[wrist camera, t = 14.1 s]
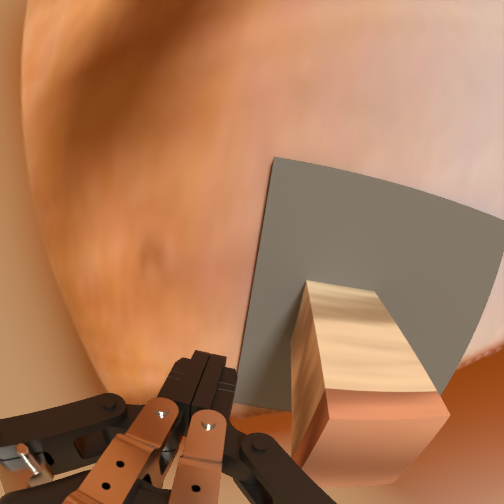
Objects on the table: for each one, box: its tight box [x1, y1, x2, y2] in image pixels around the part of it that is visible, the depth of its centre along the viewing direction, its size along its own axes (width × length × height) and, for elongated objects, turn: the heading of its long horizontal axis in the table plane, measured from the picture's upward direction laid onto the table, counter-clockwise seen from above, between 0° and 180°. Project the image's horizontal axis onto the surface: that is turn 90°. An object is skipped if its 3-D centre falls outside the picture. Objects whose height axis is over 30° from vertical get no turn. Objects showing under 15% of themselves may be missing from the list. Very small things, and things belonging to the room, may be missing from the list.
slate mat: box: [233, 157, 504, 411], centre depth 20 cm, size 20×20×1 cm
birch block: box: [291, 280, 450, 487], centre depth 14 cm, size 5×5×12 cm
